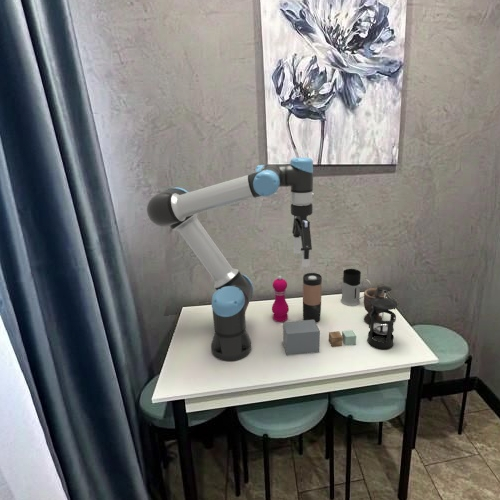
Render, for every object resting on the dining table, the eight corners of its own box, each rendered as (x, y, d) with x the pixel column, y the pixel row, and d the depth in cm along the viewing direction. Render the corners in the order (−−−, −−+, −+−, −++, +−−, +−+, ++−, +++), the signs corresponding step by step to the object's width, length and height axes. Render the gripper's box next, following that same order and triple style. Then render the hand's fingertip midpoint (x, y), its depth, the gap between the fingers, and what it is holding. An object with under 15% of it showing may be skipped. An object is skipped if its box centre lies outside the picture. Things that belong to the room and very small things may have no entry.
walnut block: (331, 347, 133) (332, 338, 131) (328, 341, 137) (328, 332, 135) (342, 346, 133) (342, 337, 132) (338, 340, 137) (339, 331, 136)
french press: (400, 347, 131) (407, 291, 123) (378, 353, 128) (383, 296, 120) (380, 331, 141) (385, 278, 133) (359, 336, 139) (363, 282, 131)
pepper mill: (289, 314, 156) (289, 273, 149) (287, 323, 150) (287, 280, 143) (273, 313, 158) (272, 271, 151) (270, 321, 151) (269, 278, 145)
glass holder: (348, 295, 171) (349, 266, 166) (374, 305, 160) (377, 275, 155) (336, 301, 166) (338, 272, 160) (363, 312, 155) (365, 281, 150)
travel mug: (319, 314, 155) (321, 272, 148) (321, 324, 148) (322, 280, 141) (302, 314, 156) (302, 272, 149) (302, 323, 149) (303, 280, 142)
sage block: (345, 345, 133) (345, 336, 132) (341, 339, 137) (342, 330, 136) (355, 345, 133) (356, 335, 132) (351, 339, 137) (352, 330, 136)
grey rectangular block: (287, 355, 129) (286, 334, 126) (283, 342, 137) (282, 322, 134) (319, 352, 130) (320, 331, 127) (313, 339, 138) (314, 319, 135)
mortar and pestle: (393, 327, 143) (398, 282, 136) (374, 332, 141) (378, 286, 134) (375, 314, 153) (379, 271, 147) (358, 318, 151) (361, 275, 144)
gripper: (322, 210, 113) (320, 272, 120) (303, 195, 136) (303, 247, 143) (298, 212, 112) (298, 273, 119) (284, 196, 135) (285, 249, 143)
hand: (301, 259), depth 131 cm, fingers open, 13 cm apart
